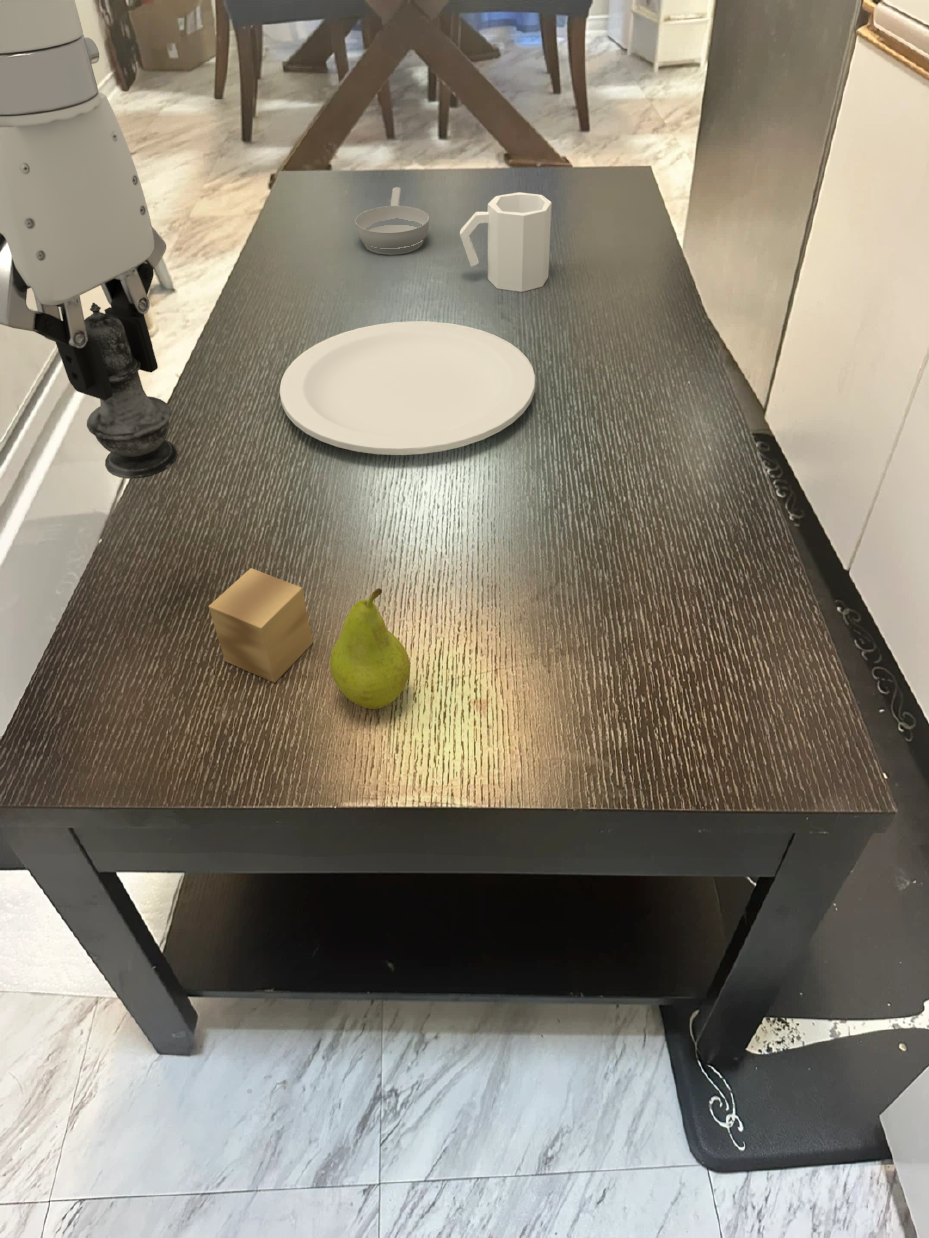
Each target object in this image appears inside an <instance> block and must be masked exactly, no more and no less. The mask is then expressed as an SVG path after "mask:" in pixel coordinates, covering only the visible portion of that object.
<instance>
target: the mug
mask: <svg viewBox="0 0 929 1238" xmlns="http://www.w3.org/2000/svg"><path fill="white" fill-rule="evenodd" d="M552 203H553V202H552V201H550V200H549V199H548V198H546V197H545V195H543V194H537V193H530V192H529V193H528V192H522V191H521V192H520V191H519V192H513V193H507V194H501V195H495V196H494V197H493V198H492V199H491V200H490V201H489V202H488V203H487V211H475V212H474V213H473V215H472V216H470V218H469V219H468V220H467V221H466V222H465V224H464V225H463V226H462V227H461V229H460V230H459V237H460V239H461V242H462V245H463V248H464V251H465V255H466V257H467V260H468V263H469V266H470V268H473V267H475V266H477V265H478V264H479V263H480V261H479V257H478V254H477V252H476V249H475V247H474V244H473V242H472V238H471V237H470V235H471V234H472V233H473V232H474V231H475V229H476V228H477V226H478V225H479V224H487V280H488V281H489V282H490V283H491V284H492V285H493V286H494V287H495V288H496V289H498V290H504V291H510V292H511V291H512V292H520V293H523V292H527V291H532V290H534V289H539V288H543V287H544V285H545V283H546V282H547V280H548V278H549V269H550V247H551V245H550V244H551V228H552V227H551V223H552Z"/></svg>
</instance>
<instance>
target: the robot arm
mask: <svg viewBox="0 0 929 1238" xmlns="http://www.w3.org/2000/svg"><path fill="white" fill-rule="evenodd" d="M99 60H100V51H99V49H98V46H97V44H96V43H95V42H94V40H93V39H92V38H90V37H85V35H84V31H83V26H82V22H81V18H80V14H79V11H78V8H77V3H76V0H0V326H1V325H2V326H5V327H8V328H11V329H17V330H23V331H29V332H34V333H36V334H38V335H40V336H42V337H44V338H45V339H46V340H49V341H52V342H55V345H56V348H57V351H58V354H59V357H60V359H61V362H62V365H63V368H64V371H65V374H66V376H67V379H68V382H69V383H70V384H71V386H72V388H73V389H74V390H75V391H76V392H78V393H81V394H83V395H87V396H90V397H92V398H96V399H99V400H100V399H102V400H107V399H109V398H111V397H112V395H113V389H112V386H111V383H110V380H109V377H108V374H107V370H106V367H105V364H104V361H103V358H102V355H101V352H100V348H99V346H98V344H97V343H95V342H93V341H89V340H88V336H87V331H86V326H85V321H84V320H85V315H84V311H83V306H82V305H83V304H82V301H81V296H82V295H84V294H86V293H88V292H89V291H92V290H94V289H96V288H99V287H101V289H102V291H103V294H104V296H105V298H106V300H107V303H108V304H109V307H107V308H105V309H104V314H109V315H113V316H115V317H116V318H118V319H119V320H120V321H121V323H122V324H123V326H124V330H125V333H126V336H127V340H128V343H129V347H130V350H131V353H132V357H134V358H136V359H138V360H139V362H140V364H141V367H140V369H139V371H143V372H146V373H154V372H155V371H156V370H158V369H159V365H158V362H157V361H158V360H157V357H156V355H155V350H154V346H153V341H152V339H151V334H150V332H149V328H148V324H147V320H146V317H145V314H147V313H148V312H149V310H150V309H151V308H150V307H151V302H150V299H149V296H148V294H149V291H150V288H151V285H152V283H153V279H154V275H155V271H154V270H156V269H157V267H158V266H159V264H160V262H161V260H162V258H163V257H164V255H165V253H166V251H167V244H166V241H165V240H164V239H163V238H162V236H161V235H160V234H159V233H158V232H157V231H156V229H155V227H153V224H152V221H151V216H150V211H149V208H148V204H147V201H146V198H145V194H144V190H143V187H142V184H141V181H140V178H139V174H138V171H137V169H136V165H135V163H134V161H133V160H134V159H133V156H132V153H131V151H130V148H129V146H128V143H127V140H126V139H125V138H126V137H125V136H124V135H125V134H124V133H123V130H122V128H121V126H120V124H119V121H118V119H117V116H116V114H115V111H114V110H113V108H112V106H111V103H110V101H109V99H108V97H107V95H106V94H105V93H103V92H100V91H99V88H98V84H97V80H96V76H95V72H94V68H93V65H94V64H97V63H98V62H99ZM29 289H31V290H32V293H33V297H34V301H35V306H36V309H37V310H36V309H33V308H29V307H28V305H27V295H28V290H29Z"/></svg>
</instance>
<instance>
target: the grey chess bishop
mask: <svg viewBox="0 0 929 1238" xmlns="http://www.w3.org/2000/svg"><path fill="white" fill-rule="evenodd" d="M101 309H102V308H101V306H99V305H98V304H97V303H95V302H92V304H91V306H90V308H89V311H91V312H92V314H90V315H89V316H87V317H86V318H84V321H85V326H86V331H87V336H88V340H89V341H93V342H95V343H97V344H98V346H99V348H100V352H101V355H102V358H103V361H104V364H105V367H106V370H107V374H108V377H109V380H110V383H111V386H112V389H113V395H112V397H111V398H109V399H107V400H102V399H99V401H100V402H99V403H100V406H98V407H97V408H95V409H94V410H93V411H92V412H91V413H90V414H89V416H88V417H87V420H86V428H87V429H88V431H89V433H91V434H92V435H93V436H94V437H95V438H96V440H97V442H98V443H99V444H100V445H101V446H102V447H103V449H105V450H106V451H108V452H109V453H108V454H107V456H106V457H105V460H104V466H105V468H106V470H107V472H108V473H110V474H111V475H112V476H115V477H117V478H121V479H128V480H129V479H130V480H131V479H132V480H133V479H134V480H135V479H143V478H149V477H152V476H155V475H158V474H160V473H163V472H165V471H166V470H167V469H169V468H170V467H172V466H173V465H174V464H175V463H176V461H177V459H178V457H179V450H178V448H177V447H176V445H175V444H174V443H173V442H171V441H169V440H166V439H167V438H168V434H169V430H170V418H171V416H172V409H171V407H170V405H169V404H168V403H167V401H164V400H163V399H161V398H158V397H155V396H149V395H147V393H146V392H145V389H144V387H143V384H142V380H141V377H140V374H139V371H140V370H139V369H140V367H141V364H140V362H139V360H138V359H136V358H134V357H132V353H131V350H130V347H129V343H128V340H127V336H126V333H125V330H124V326H123V324H122V323H121V321H120V320H119V319H118V318H116V317H115V316H113V315H109V314H105V312H101Z"/></svg>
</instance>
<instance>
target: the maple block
mask: <svg viewBox="0 0 929 1238" xmlns="http://www.w3.org/2000/svg"><path fill="white" fill-rule="evenodd" d="M208 609H209V613H210V616H211V619H212V623H213V627H214V629H215V632H216V636H217V641H218V642H219V646H220V650H221V653H222V656H223V659H224V662H226V663H228V664H230V665H233V666H235V667H237V668H239V669H242V670H244V671H247V672H248V673H251V674H253V675H255V676H257V677H260V678H262V679H264V680H267V681H269V682H271V683H272V684H276V683H277V681H278V680H280V678H281V677H282V676H284V674H285V673H286V672H287V671H288V670H289V669H290V668H291V667H292V666H293V665H294V664H295V663H296V661H298V659H300V657H301V656H302V655H303V654H304V653H305V652H306V651H307V650H308V649H309V648H310V647H311V646H312V644H313V641H314V640H313V636H312V635H313V634H312V631H311V627H310V626H311V625H310V621H309V616H308V615H309V614H308V611H307V606H306V600H305V595H304V589H303V587H301V586H300V585H299V586H298V585H297V584H294V583H291V582H289V581H286V580H284V579H282V578H279V577H276V576H274V575H270V574H268V573H265V572H263V571H260V570H257V569H255V568H252V567H250V568H249V569H248V570H247V571H246V572H245V573H243V574H242V575H241V576H240V577H239V578H238V579H237V580H235V581H234V583H232V584H231V585H230V586H229V587H228V588H227V589H226V590H225V591H223V592H222V593H221V594H220V595H219V596H218V597H217V598H216V599H215V600H213V601H212V602H211V603H210V604H209V605H208Z"/></svg>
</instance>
